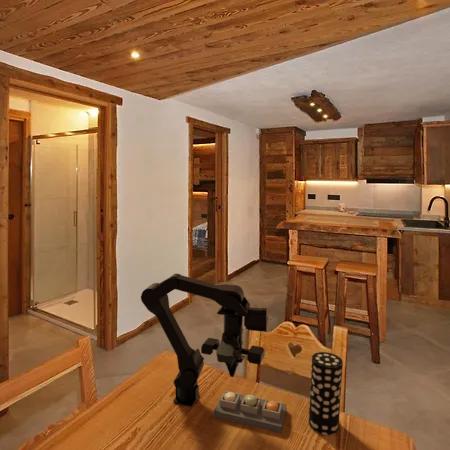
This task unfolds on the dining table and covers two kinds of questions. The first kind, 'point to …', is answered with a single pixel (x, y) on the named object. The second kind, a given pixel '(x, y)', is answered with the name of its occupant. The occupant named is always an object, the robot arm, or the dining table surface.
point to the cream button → (230, 397)
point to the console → (251, 413)
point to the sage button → (250, 400)
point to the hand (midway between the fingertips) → (232, 376)
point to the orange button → (272, 406)
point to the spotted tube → (325, 392)
